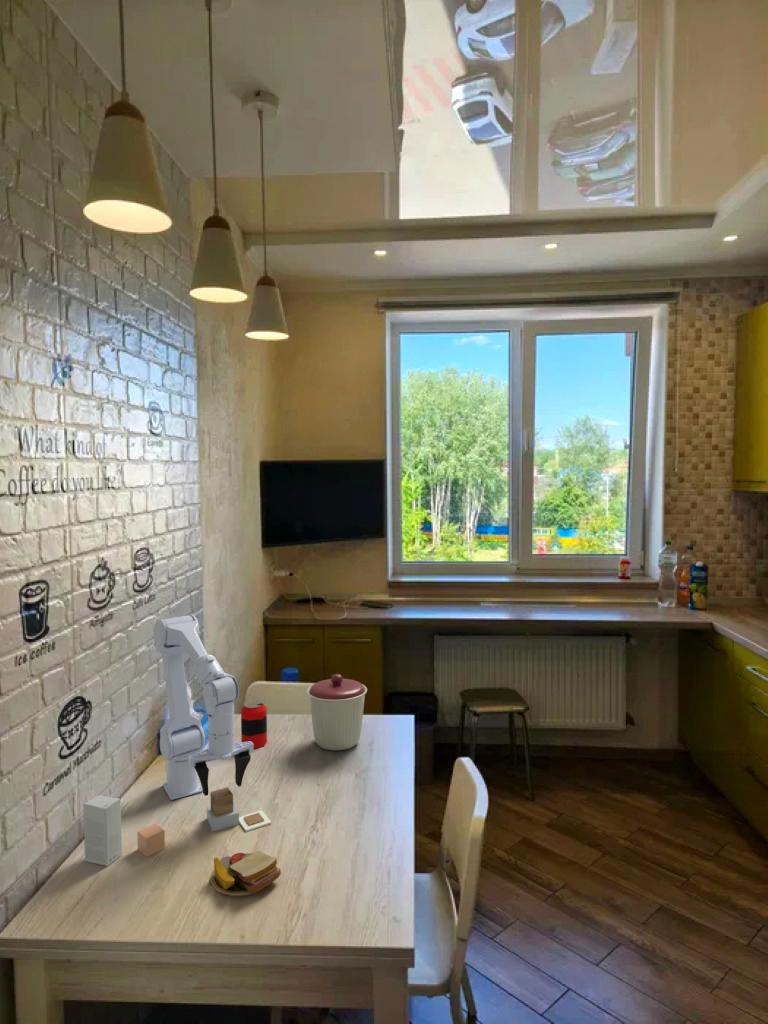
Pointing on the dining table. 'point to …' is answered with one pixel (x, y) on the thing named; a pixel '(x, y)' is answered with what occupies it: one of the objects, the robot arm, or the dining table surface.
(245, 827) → the swatch
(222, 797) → the walnut cube
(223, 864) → the toy sandwich meal
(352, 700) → the canister
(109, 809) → the skincare box
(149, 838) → the terracotta cube
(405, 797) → the dining table surface
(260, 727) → the soda can
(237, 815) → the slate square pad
